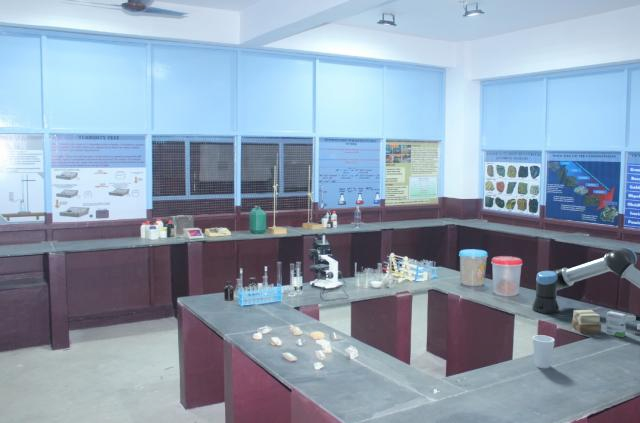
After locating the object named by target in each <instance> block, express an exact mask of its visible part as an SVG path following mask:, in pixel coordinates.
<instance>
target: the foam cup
mask: <svg viewBox="0 0 640 423" xmlns="http://www.w3.org/2000/svg"><path fill="white" fill-rule="evenodd" d="M532 346H533V348H532V349H533V356H534V366H535V367H537V368H539V369H540V368H541V369H549V368H550V367H551V362H552V358H553V351H554V346H555V338H554V337H552V336H549V335H545V334H544V335H542V334H537V335H533V336H532Z"/></svg>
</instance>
